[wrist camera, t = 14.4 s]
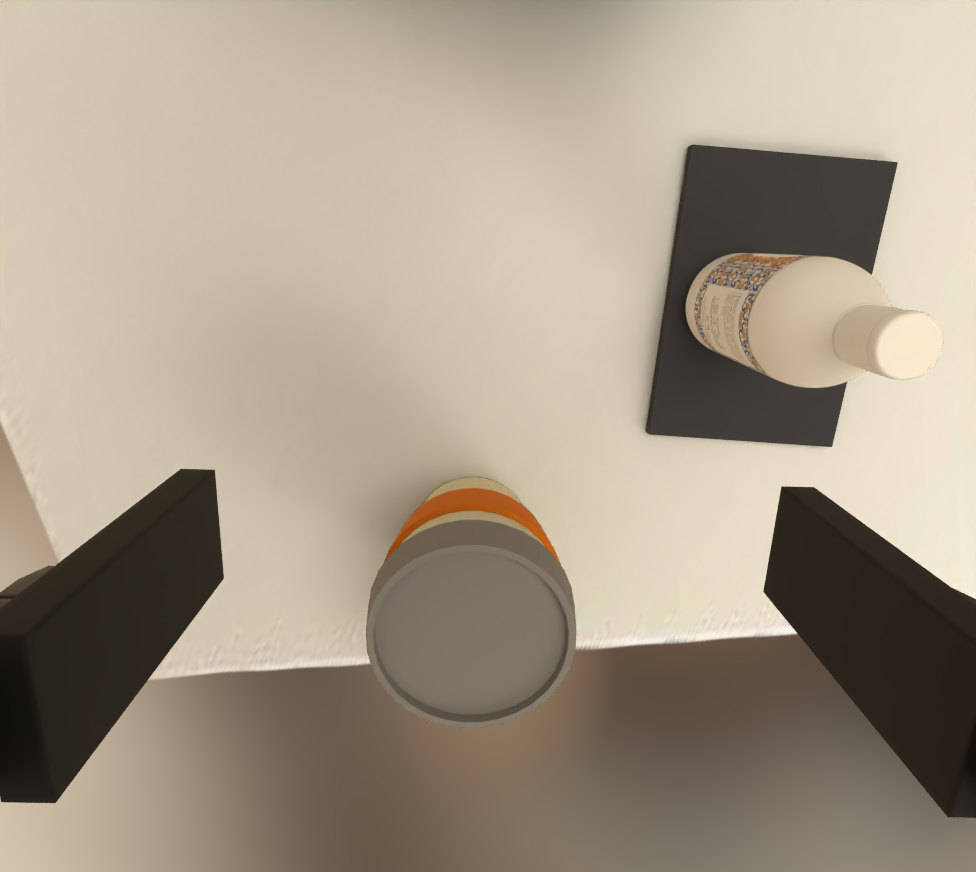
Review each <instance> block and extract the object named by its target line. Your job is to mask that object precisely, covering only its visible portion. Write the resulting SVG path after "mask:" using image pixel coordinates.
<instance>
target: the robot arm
mask: <svg viewBox="0 0 976 872" xmlns="http://www.w3.org/2000/svg"><path fill="white" fill-rule="evenodd" d="M223 579H224V575H223V563H222V551H221V539H220V527H219V515H218V503H217V491H216V479H215V470H198V469H180V470H179V471H178V472H176V473H175V474H174V475H172V476H171V477H170V478H169V479H167V480H166V481H165V482H163V483H162V484H161V485H159V486H158V487H157V488H156V489H154V490H153V491H152V492H150V493H149V494H148V495H146V496H145V497H144V498H143V499H141V500H140V501H139V502H137V503H136V504H135V505H134V506H132V507H131V508H130V509H128V510H127V511H126V512H124V513H123V514H122V515H121V516H119V517H118V518H117V519H115V520H114V521H113V522H111V523H110V524H109V525H108V526H106V527H105V528H104V529H102V530H101V531H100V532H98V533H97V534H96V535H95V536H93V537H92V538H91V539H89V540H88V541H87V542H86V543H84V544H83V545H82V546H80V547H79V548H78V549H76V550H75V551H74V552H73V553H71V554H70V555H69V556H67V557H66V558H65V559H63V560H62V561H61V562H60V563H58V564H57V565H56V566H47V567H45V568H43V569H41V570H38V571H36V572H34V573H32V574H29V575H27V576H25V577H23V578H20V579H18V580H17V581H15V582H14V583H13V584H11V585H10V586H9V587H7V588H6V589H5V590H3V591H2V592H0V797H1V802H25V803H56V802H57V800H58V799H59V798H60V796H61V795H62V794H63V792H64V791H65V789H66V788H67V787H68V786H69V784H70V783H71V782H72V780H73V779H74V778H75V776H76V775H77V774H78V772H79V771H80V770H81V768H82V767H83V766H84V764H85V763H86V762H87V760H88V759H89V758H90V756H91V755H92V753H93V752H94V751H95V750H96V748H97V747H98V745H99V744H100V743H101V742H102V740H103V739H104V738H105V736H106V735H107V734H108V732H109V731H110V729H111V728H112V727H113V725H114V724H115V723H116V722H117V720H118V719H119V718H120V716H121V715H122V713H123V712H124V711H125V709H126V708H127V707H128V706H129V704H130V703H131V702H132V700H133V699H134V697H135V696H136V695H137V693H138V692H139V691H140V689H141V688H142V687H143V686H144V684H145V683H146V682H147V680H148V679H149V678H150V676H151V675H152V674H153V672H154V671H155V670H156V668H157V667H158V666H159V664H160V663H161V662H162V660H163V659H164V657H165V656H166V655H167V653H168V652H169V651H170V649H171V648H172V647H173V645H174V644H175V643H176V641H177V640H178V639H179V637H180V636H181V635H182V633H183V632H184V631H185V629H186V628H187V627H188V625H189V624H190V623H191V621H192V620H193V619H194V617H195V616H196V615H197V613H198V612H199V611H200V609H201V608H202V607H203V605H204V604H205V603H206V601H207V600H208V599H209V597H210V596H211V595H212V593H213V592H214V591H215V589H216V588H217V587H218V585H219V584H220V583H221V581H222V580H223ZM763 592H764V593H765V594H766V595H767V597H768V598H769V599H770V600H771V602H772V603H773V604H774V605H775V606H776V608H777V609H778V610H779V611H780V613H781V614H782V615H783V616H784V617H785V619H786V620H787V621H788V622H789V624H790V625H791V626H792V627H793V628H794V630H795V631H796V632H797V633H798V635H799V636H800V637H801V638H802V639H803V641H804V642H805V643H806V644H807V645H808V647H809V648H810V649H811V650H812V652H813V653H814V654H815V655H816V657H817V658H818V659H819V660H820V661H821V663H822V664H823V665H824V666H825V668H826V669H827V670H828V671H829V672H830V674H831V675H832V676H833V677H834V679H835V680H836V681H837V682H838V683H839V685H840V686H841V687H842V688H843V690H844V691H845V692H846V693H847V694H848V696H849V697H850V698H851V699H852V701H854V703H855V704H856V705H857V707H858V708H859V709H860V710H861V712H862V713H863V714H864V715H865V716H866V718H867V719H868V720H869V721H870V723H871V724H872V725H873V726H874V727H875V729H876V730H877V731H878V732H879V733H880V734H881V736H882V737H883V738H884V739H885V741H886V742H887V743H888V744H889V746H890V747H891V748H892V749H893V751H894V752H895V753H896V754H897V755H898V757H899V758H900V759H901V760H902V762H903V763H904V764H905V765H906V766H907V768H908V769H909V770H910V771H911V773H912V774H913V775H914V776H915V777H916V779H917V780H918V781H919V782H920V783H921V785H922V786H923V787H924V788H925V790H926V791H927V792H928V793H929V795H930V796H931V797H932V798H933V799H934V801H935V802H936V803H937V804H938V806H939V807H940V808H941V809H942V810H943V811H944V813H945V814H946V815H947V817H972V818H976V599H974V598H972V597H970V596H968V595H966V594H964V593H961V592H959V591H957V590H955V589H953V588H951V587H950V586H948V585H947V584H946V583H944V582H943V581H941V580H940V579H939V578H937V577H936V576H935V575H933V574H932V573H930V572H929V571H928V570H926V569H925V568H924V567H922V566H921V565H919V564H918V563H917V562H915V561H914V560H913V559H911V558H910V557H909V556H907V555H906V554H904V553H903V552H902V551H900V550H899V549H898V548H896V547H895V546H893V545H892V544H891V543H889V542H888V541H887V540H885V539H884V538H882V537H881V536H880V535H878V534H877V533H876V532H874V531H873V530H872V529H870V528H869V527H867V526H866V525H865V524H863V523H862V522H861V521H859V520H858V519H856V518H855V517H854V516H852V515H851V514H850V513H848V512H847V511H845V510H844V509H843V508H841V507H840V506H839V505H837V504H836V503H835V502H833V501H832V500H830V499H829V498H828V497H826V496H825V495H824V494H822V493H821V492H819V491H818V490H817V489H815V488H814V487H781V493H780V499H779V505H778V510H777V516H776V522H775V528H774V534H773V539H772V545H771V551H770V557H769V563H768V568H767V574H766V580H765V586H764V591H763Z"/></svg>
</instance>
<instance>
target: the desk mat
mask: <svg viewBox="0 0 976 872" xmlns="http://www.w3.org/2000/svg"><path fill="white" fill-rule="evenodd" d="M896 168H897V162H888V161H877V160H865V159H853V158H842V157H830V156H818V155H807V154H795V153H784V152H772V151H760V150H749V149H737V148H726V147H714V146H702V145H691V146H689V147H688V153H687V159H686V166H685V173H684V180H683V186H682V193H681V200H680V207H679V213H678V220H677V227H676V233H675V240H674V247H673V254H672V260H671V267H670V274H669V281H668V287H667V294H666V301H665V308H664V314H663V321H662V328H661V335H660V341H659V348H658V355H657V361H656V368H655V375H654V382H653V388H652V395H651V402H650V409H649V415H648V422H647V429H646V432H647V433H648V434H653V435H667V436H682V437H696V438H711V439H725V440H739V441H754V442H768V443H783V444H797V445H812V446H826V447H832V444H833V440H834V436H835V431H836V427H837V423H838V418H839V414H840V410H841V405H842V401H843V397H844V392H845V388H846V384H847V382H845V383H842V384H839V385H835V386H830V387H822V388H806V387H798V386H793V385H789V384H786V383H783V382H781V381H778V380H776V379H774V378H771V377H769V376H767V375H765V374H763V373H760V372H758V371H756V370H754V369H752V368H750V367H747V366H745V365H743V364H741V363H739V362H737V361H734V360H732V359H730V358H728V357H726V356H723V355H721V354H719V353H717V352H715V351H713V350H711V349H709V348H707V347H706V346H704V345H703V344H702V343H700V342H699V341H698V340H697V339H696V337H695V336H694V335H693V333H692V331H691V330H690V327H689V325H688V322H687V318H686V299H687V295H688V292H689V290H690V287H691V285H692V283H693V281H694V279H695V278H696V276H697V275H698V274H699V272H700V271H701V270H702V269H703V268H704V267H706V266H707V265H708V264H709V263H711V262H712V261H714V260H716V259H718V258H720V257H723V256H725V255H729V254H735V253H762V254H786V255H810V256H829V257H834V258H838V259H841V260H845V261H848V262H850V263H853V264H855V265H857V266H859V267H861V268H862V269H864V270H865V271H867V272H868V273H870V274H871V275H872V271H873V267H874V263H875V258H876V254H877V250H878V245H879V241H880V237H881V232H882V228H883V224H884V219H885V215H886V211H887V206H888V202H889V198H890V193H891V189H892V185H893V180H894V176H895V172H896Z"/></svg>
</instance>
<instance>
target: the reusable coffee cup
mask: <svg viewBox="0 0 976 872" xmlns="http://www.w3.org/2000/svg"><path fill="white" fill-rule="evenodd" d="M366 641H367V652H368V656H369V659H370V663H371V666H372V668H373V671H374V672H375V674H376V676H377V678H378V680H379V682H380V684H381V685H382V686H383V687H384V688H385V689H386V691H387V692H388V693H389V694H390V695H391V697H392V698H393V699H395V700H396V701H397V702H398V703H400V704H401V705H402V706H403V707H404V708H406V709H407V710H409V711H410V712H412V713H414V714H416V715H418V716H420V717H422V718H423V719H426V720H429V721H432V722H435V723H438V724H441V725H445V726H452V727H458V728H484V727H490V726H495V725H500V724H504V723H507V722H509V721H512V720H515V719H518V718H520V717H522V716H524V715H526V714H527V713H529V712H531V711H533V710H534V709H536V708H537V707H538V706H540V705H541V704H542V703H543V702H545V701H546V700H547V699H548V698H549V697H551V695H552V694H553V693H554V692H555V690H556V689H557V688H558V687H559V685H560V684H561V683H562V682H563V679H564V678H565V676H566V674H567V672H568V670H569V668H570V666H571V663H572V659H573V655H574V652H575V646H576V621H575V606H574V600H573V594H572V589H571V585H570V583H569V581H568V578H567V576H566V574H565V571H564V569H563V568H562V567H561V564H560V562H559V559H558V557H557V555H556V552H555V550H554V548H553V546H552V545H551V543H550V541H549V539H548V538H547V536H546V534H545V532H544V531H543V529H542V527H541V525H540V524H539V523H538V521H537V520H536V518H535V517H534V515H533V514H532V513H531V512H530V511H529V510H527V509H526V508H525V507H524V506H523V505H522V503H521V502H520V500H519V499H518V497H517V496H516V495H515V494H514V493H513V492H512V491H510V490H509V489H508V488H506V487H505V486H503V485H502V484H500V483H498V482H495V481H492V480H490V479H485V478H479V477H466V478H461V479H456V480H453V481H450V482H448V483H445V484H444V485H442V486H441V487H439V488H437V489H436V490H435V491H434V492H433V493H432V494H431V495H430V496H429V497H428V498H427V499H426V501H425V502H424V504H423V505H421V506H420V507H419V508H418V509H417V510H416V511H415V512H414V513H413V514H412V515H411V516H410V518H409V519H408V521H407V522H406V523H405V525H404V526H403V528H402V530H401V531H400V533H399V535H398V536H397V538H396V540H395V541H394V543H393V545H392V546H391V548H390V550H389V551H388V554H387V556H386V559H385V561H384V563H383V565H382V567H381V568H380V570H379V571H378V574H377V576H376V579H375V581H374V583H373V586H372V588H371V594H370V600H369V606H368V616H367V627H366Z"/></svg>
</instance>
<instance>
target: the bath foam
mask: <svg viewBox="0 0 976 872" xmlns="http://www.w3.org/2000/svg"><path fill="white" fill-rule="evenodd" d="M686 318H687V322H688V325H689V327H690V330H691V331H692V333H693V335H694V336H695V337H696V339H697V340H698V341H699V342H700V343H702V344H703V345H704V346H706V347H707V348H709V349H711V350H713V351H715V352H717V353H719V354H721V355H723V356H726V357H728V358H730V359H732V360H734V361H737V362H739V363H741V364H743V365H745V366H747V367H750V368H752V369H754V370H756V371H758V372H760V373H763V374H765V375H767V376H769V377H771V378H774V379H776V380H778V381H781V382H783V383H786V384H789V385H793V386H798V387H806V388H822V387H830V386H835V385H839V384H842V383H845V382H848V381H850V380H852V379H854V378H856V377H858V376H860V375H861V374H863V373H864V372H866V371H869V372H872V373H875V374H878V375H881V376H884V377H887V378H890V379H895V380H908V379H913V378H916V377H918V376H920V375H922V374H924V373H925V372H927V371H928V370H929V369H930V368H931V367H932V366H933V365H934V364H935V362H936V361H937V359H938V358H939V356H940V354H941V351H942V347H943V333H942V330H941V327H940V325H939V324H938V322H937V321H936V320H935V319H934V318H932V317H931V316H930V315H928V314H926V313H923V312H919V311H913V310H903V309H899V308H894V307H892V305H891V302H890V299H889V297H888V295H887V293H886V292H885V290H884V288H883V287H882V285H881V284H880V283H879V282H878V281H877V280H876V279H875V278H874V277H873V276H872V275H871V274H870V273H868V272H867V271H865V270H864V269H862V268H861V267H859V266H857V265H855V264H853V263H850V262H848V261H845V260H841V259H838V258H834V257H829V256H810V255H786V254H762V253H735V254H729V255H725V256H723V257H720V258H718V259H716V260H714V261H712V262H711V263H709V264H708V265H707V266H706V267H704V268H703V269H702V270H701V271H700V272H699V274H698V275H697V276H696V278H695V279H694V281H693V283H692V285H691V287H690V290H689V292H688V295H687V299H686Z"/></svg>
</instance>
